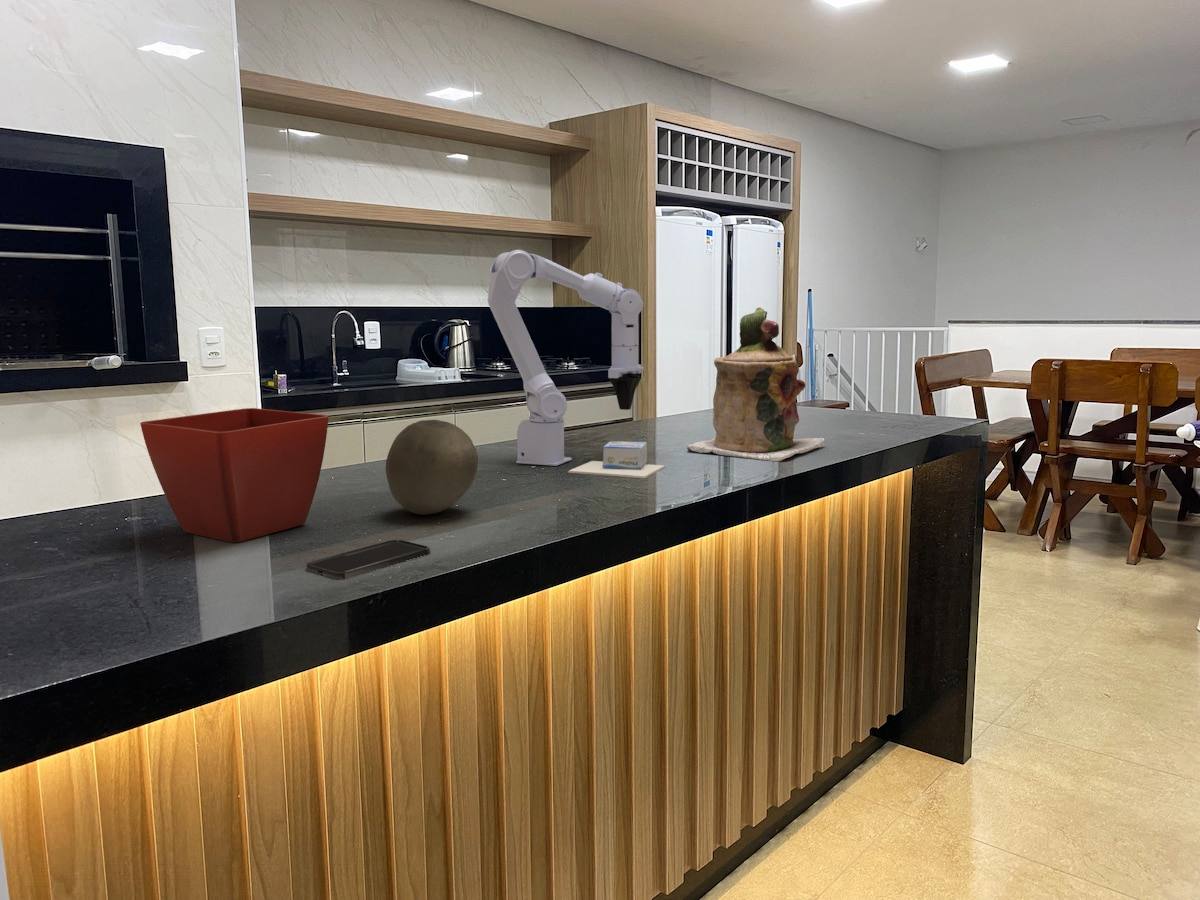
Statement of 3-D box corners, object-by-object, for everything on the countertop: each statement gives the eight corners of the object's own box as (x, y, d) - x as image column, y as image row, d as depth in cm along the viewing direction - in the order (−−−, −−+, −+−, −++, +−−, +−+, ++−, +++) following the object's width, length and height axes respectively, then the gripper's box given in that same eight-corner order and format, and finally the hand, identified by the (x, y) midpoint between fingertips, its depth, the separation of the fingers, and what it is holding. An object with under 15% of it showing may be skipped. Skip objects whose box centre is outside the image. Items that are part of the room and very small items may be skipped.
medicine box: (647, 441, 186) (641, 447, 177) (647, 462, 186) (641, 469, 178) (609, 440, 187) (602, 446, 179) (609, 461, 188) (602, 468, 179)
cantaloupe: (402, 528, 135) (398, 429, 132) (379, 509, 147) (374, 418, 145) (490, 517, 141) (488, 422, 139) (461, 500, 154) (458, 413, 151)
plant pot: (229, 553, 122) (219, 430, 119) (146, 535, 132) (136, 421, 129) (338, 523, 138) (332, 414, 135) (257, 509, 148) (250, 407, 145)
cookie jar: (681, 452, 201) (682, 307, 196) (731, 438, 221) (733, 306, 216) (785, 463, 187) (789, 307, 182) (828, 447, 207) (833, 306, 202)
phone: (433, 547, 121) (340, 574, 110) (433, 555, 121) (340, 583, 110) (395, 538, 126) (302, 563, 114) (396, 546, 126) (302, 571, 115)
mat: (568, 472, 178) (568, 470, 177) (592, 462, 188) (592, 460, 188) (644, 478, 171) (644, 476, 171) (664, 467, 182) (664, 465, 182)
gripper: (630, 347, 183) (630, 413, 185) (654, 344, 196) (653, 406, 199) (598, 347, 186) (599, 412, 188) (623, 344, 199) (624, 405, 201)
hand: (625, 409), depth 193 cm, fingers closed
